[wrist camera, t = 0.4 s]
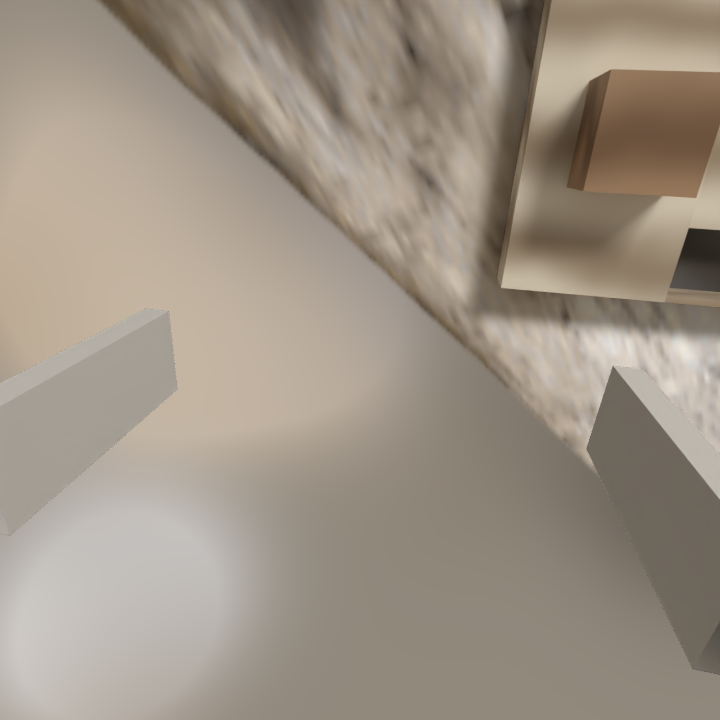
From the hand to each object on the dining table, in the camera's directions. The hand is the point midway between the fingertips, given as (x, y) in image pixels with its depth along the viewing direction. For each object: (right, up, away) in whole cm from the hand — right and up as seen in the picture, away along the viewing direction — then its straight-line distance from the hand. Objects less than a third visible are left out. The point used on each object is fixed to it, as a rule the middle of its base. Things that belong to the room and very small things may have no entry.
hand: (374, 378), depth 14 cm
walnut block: (+16, +14, +15) cm, 26 cm away
